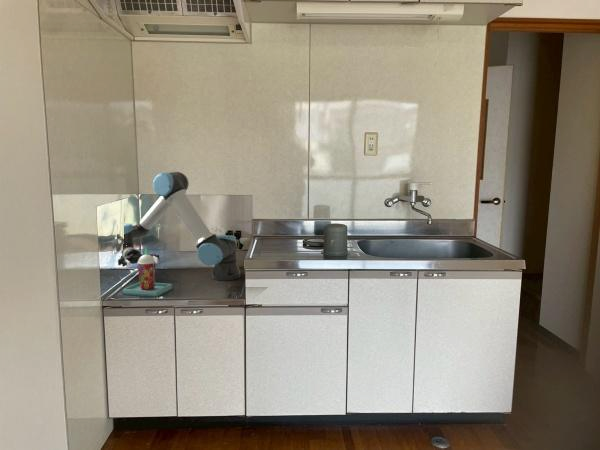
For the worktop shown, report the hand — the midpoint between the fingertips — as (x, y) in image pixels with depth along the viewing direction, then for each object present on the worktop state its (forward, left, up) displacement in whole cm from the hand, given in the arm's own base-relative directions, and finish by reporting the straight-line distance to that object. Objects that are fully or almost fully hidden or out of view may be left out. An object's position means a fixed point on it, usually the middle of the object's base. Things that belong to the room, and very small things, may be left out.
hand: (143, 262), depth 222 cm
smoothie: (-3, +2, -13) cm, 13 cm away
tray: (-3, +2, -14) cm, 14 cm away
